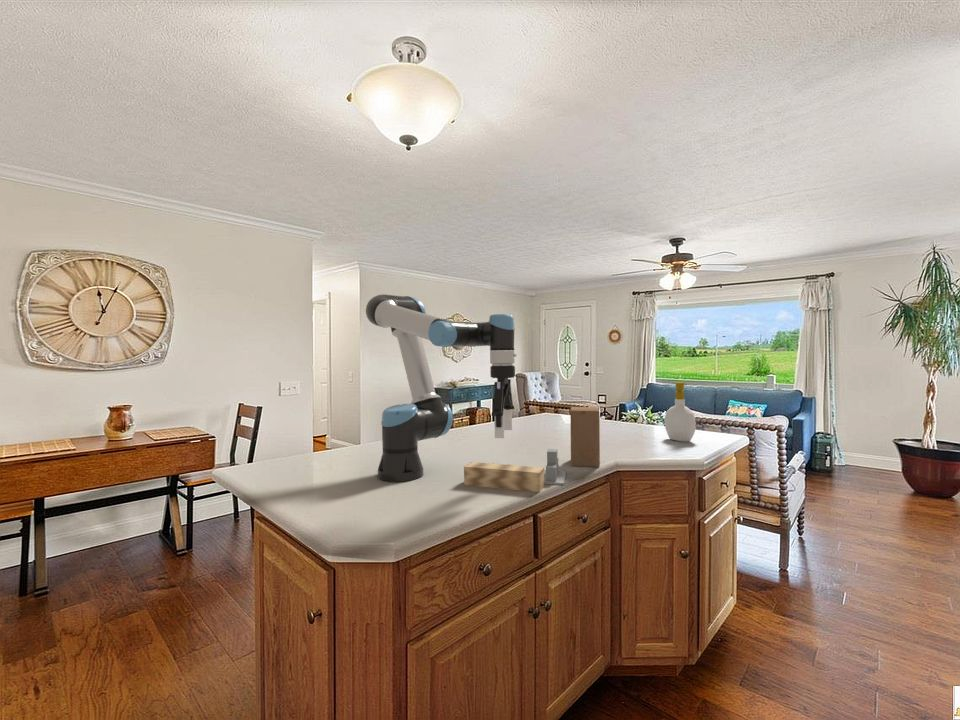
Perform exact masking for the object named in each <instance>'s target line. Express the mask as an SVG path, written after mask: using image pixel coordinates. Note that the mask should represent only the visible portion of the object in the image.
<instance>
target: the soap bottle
mask: <svg viewBox="0 0 960 720" xmlns="http://www.w3.org/2000/svg"><path fill="white" fill-rule="evenodd" d="M674 383H675V388H676V391H675V398H674V405H673V406H671V407H669V409H667V410H666V413H665V416H664V426H665V431H666V434H667V436H668V439H670V440H672V441H676V442H681V443H688V442H691V441H692V439H693V437H694V435H695V432H696V425H697V424H696V416H695V415H694V412H693V411H692V410H691V409H690V408H689V407H688V406H686V404H685V403H686V399H685V392H684V387H685V386H687V385H688V384H686V383H685V382H682V381H680V382H679V381H677V382H674Z"/></svg>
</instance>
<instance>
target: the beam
mask: <svg viewBox="0 0 960 720" xmlns="http://www.w3.org/2000/svg"><path fill="white" fill-rule="evenodd" d="M544 470H545V467H538V466H528V465H525V466H524V465H515V464H514V465H512V464H501V463H489V462H488V463H487V462H475V461H471V462H469V463H467V464H465V465H463V482H464V483H463V484H464V485H465V486H474V487H475V486H476V487H484V488H493V489H494V488H495V489H503V490H514V491H525V492H535V493H541V491H542V490H543V489H544V487H545V484H544Z"/></svg>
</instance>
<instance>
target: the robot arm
mask: <svg viewBox="0 0 960 720" xmlns="http://www.w3.org/2000/svg"><path fill="white" fill-rule="evenodd" d="M426 312H427V311H426V308H425V306H424V304H423V302H421V300H419V299H418V298H416V297H413V296H412V297H411V296H408V295H404V296H401V295H392V294H382V293H381V294H378V295H375V296H373V297H371V298H370V300H369V301H368V302H367V304H366V306H365V314H366V318H367V320H368V321H369V323H371V324H373V325H375V326H378V327H381V328H383V329H387V328H390V330H391V334H392V336H394V337H395V338H396V339H397V341H398V345H399V349H400V354H401V358H402V363H403V366H404V370H405V374H406V378H407V381H408V382H407V383H408V387H409V391H410V394H411V402H410V403H403V404H402V403H401V404H395V405H392V406H388V407H387V408H385V409H383V411H382V414H381V415H382V416H381V424H380V425H381V431H382V435H381V436H382V437H381V439H382V441H381V443H382V455H381V458H380V462H379V464H378V467H377V478H378V479H379V480H381V481H386V482H406V481H407V482H408V481H412V480H416V479H419V478H422V476H424V466H423V463H422V461H421V458H420V455H419V452H418V448H419V447H418V445H419V444H418V442H419V441H425V440H429V439H436V438H439V437H441V436H444V435H446V434H448V433H449V431H450V429H451V428H452V425H453V420H454V417H453V412H452V409H451V408H450V406H448V404H447V403H443V400H442V396H440V395H439V394H437V393H436V389H435V385H434V382H433V381H434V380H433V378H432V374H431V369H430V366H429V362H428V358H427V355H426V351H425V347H424V342H423V340H422V339H425V340H428V341H430V342H431V343H432V345H434V346H435V347H442V348H448V347H473V348H474V347H488V346H489V363H490V364H491V365H490V371H489V373H490V378H492V379H497V381H494V383H493V385H494V390H493V391H494V392H493V407H492V412H491V416H492V417H494V439H505V431H513V414H512V413H513V411H512V410H514V409H515V405H514V404H513V394H512V385H511V384H512V383H511V382H512V381H511V379H512V378H515V377H516V367H515V365H514V364H515V363H516V361H515V358H516V357H517V353H515V330H516V329H515V321H514V320H515V319H514V316H513V315H512V314H509V313H496V314H490V315H489V319H488V321H487V322H486V321H485V322H484V321H483V322H473V321H472V322H471V321H470V322H469V321H452V320H448V319H444V318H440V317H437V316H434V315H432V314H427V313H426Z"/></svg>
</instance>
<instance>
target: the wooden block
mask: <svg viewBox="0 0 960 720" xmlns="http://www.w3.org/2000/svg"><path fill="white" fill-rule="evenodd" d="M600 423H601V422H600V410H599V408H598V407H597V406H571V407H570V465H571V466H572V467H590V468H600V467H601V465H600V464H601V458H600V457H601V456H600V455H601V454H600V452H601V449H600V448H601V447H600V438H601V437H600V436H601V435H600V433H601V432H600V425H601V424H600Z"/></svg>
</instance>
